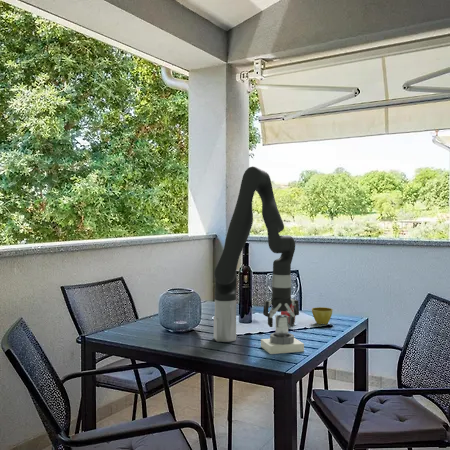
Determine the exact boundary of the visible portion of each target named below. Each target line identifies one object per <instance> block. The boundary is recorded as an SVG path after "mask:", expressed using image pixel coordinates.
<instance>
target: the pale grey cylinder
mask: <svg viewBox="0 0 450 450" xmlns="http://www.w3.org/2000/svg"><path fill="white" fill-rule="evenodd" d="M275 333H276V337H288V333H289V324H288V316H286V315H281V314H278V315H275Z"/></svg>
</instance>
